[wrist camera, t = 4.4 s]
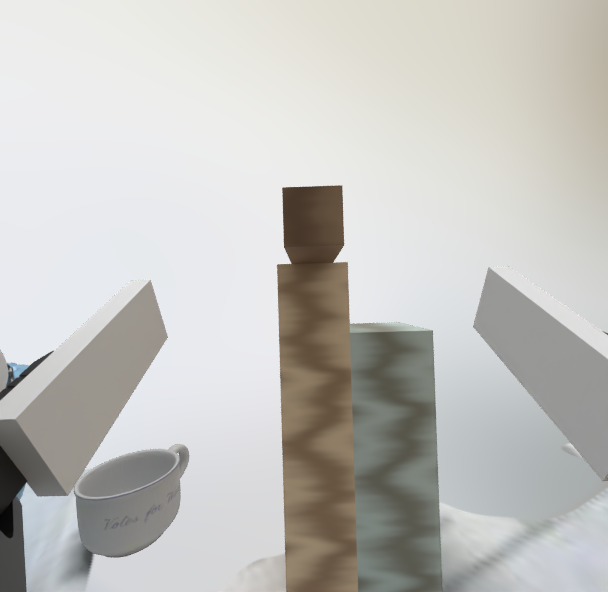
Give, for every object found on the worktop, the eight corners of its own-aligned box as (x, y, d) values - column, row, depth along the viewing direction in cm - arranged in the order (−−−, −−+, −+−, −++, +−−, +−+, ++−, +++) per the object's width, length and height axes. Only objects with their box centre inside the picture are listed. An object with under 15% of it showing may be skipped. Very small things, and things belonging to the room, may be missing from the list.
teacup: (102, 595, 29) (100, 508, 30) (59, 546, 36) (57, 475, 36) (220, 511, 41) (219, 449, 41) (172, 485, 47) (170, 431, 47)
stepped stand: (287, 621, 27) (277, 264, 27) (293, 533, 37) (285, 274, 37) (443, 619, 26) (430, 259, 27) (406, 531, 36) (397, 270, 37)
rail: (284, 247, 18) (282, 187, 19) (297, 277, 42) (297, 251, 43) (344, 245, 18) (342, 185, 18) (324, 276, 42) (323, 250, 42)
